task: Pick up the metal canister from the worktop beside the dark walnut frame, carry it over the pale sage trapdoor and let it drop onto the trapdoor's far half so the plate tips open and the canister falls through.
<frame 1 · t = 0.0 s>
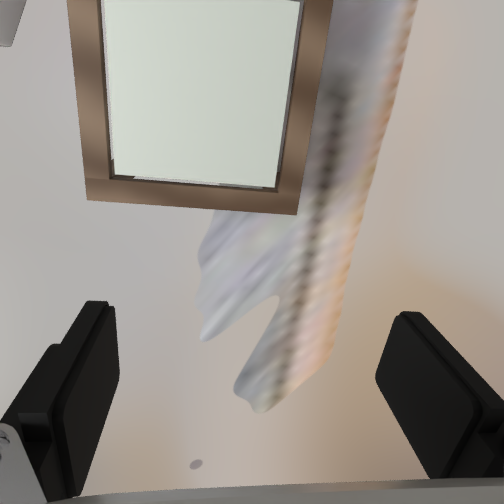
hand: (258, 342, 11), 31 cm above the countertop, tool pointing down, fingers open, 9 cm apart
trapdoor: (201, 71, 27), point 9 cm above the countertop, hinge at 0.0°
trapdoor frame: (207, 9, 33), on the countertop
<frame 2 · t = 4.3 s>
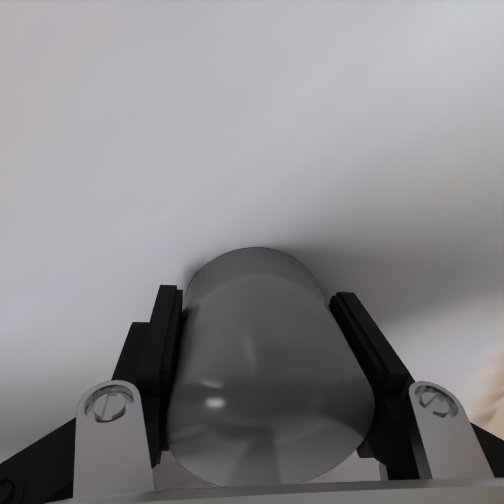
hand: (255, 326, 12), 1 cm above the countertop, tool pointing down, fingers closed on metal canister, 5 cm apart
metal canister: (252, 309, 13), on the countertop, touching gripper
when the fingers open (13 cm above the countertop, at t = 9.7 s): metal canister drops 8 cm and tips over, resting on trapdoor.
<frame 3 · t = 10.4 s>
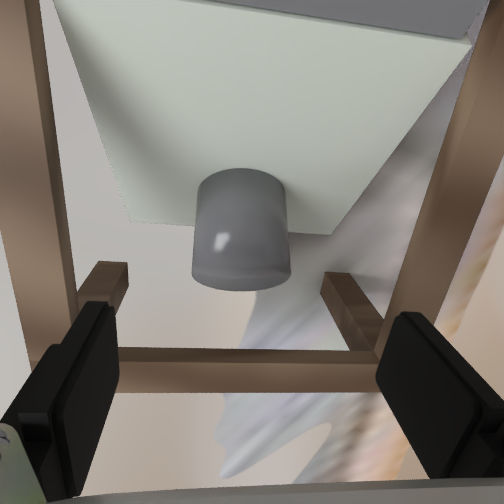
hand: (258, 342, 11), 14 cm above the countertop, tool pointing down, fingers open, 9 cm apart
trapdoor: (252, 125, 16), point 6 cm above the countertop, hinge at -39.2°, touching metal canister
metal canister: (241, 196, 20), point 3 cm above the countertop, tilted 40°, touching trapdoor
trapdoor frame: (251, 35, 19), on the countertop
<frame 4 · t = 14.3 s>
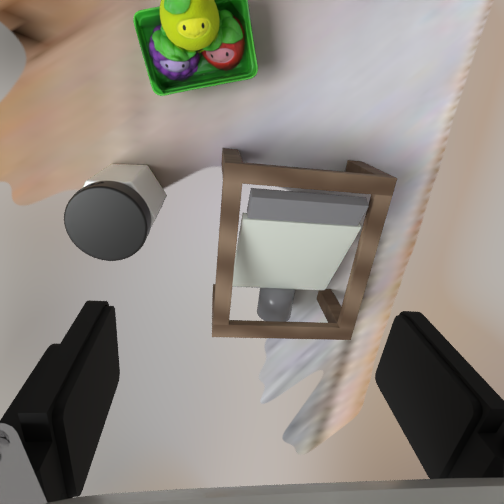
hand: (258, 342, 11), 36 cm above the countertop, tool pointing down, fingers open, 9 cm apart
trapdoor: (292, 247, 43), point 7 cm above the countertop, hinge at -26.6°, touching metal canister
metal canister: (278, 285, 50), point 3 cm above the countertop, tilted 90°, touching trapdoor
fruit basket: (198, 45, 38), on the countertop
jar: (132, 193, 45), on the countertop
trapdoor frame: (287, 194, 47), on the countertop
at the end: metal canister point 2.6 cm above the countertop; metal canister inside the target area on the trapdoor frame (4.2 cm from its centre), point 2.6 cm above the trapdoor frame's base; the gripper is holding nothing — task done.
